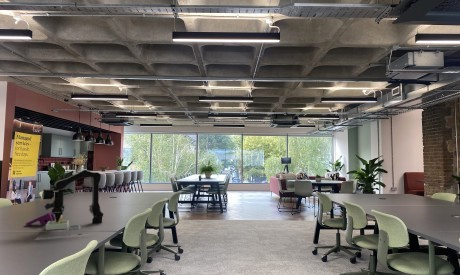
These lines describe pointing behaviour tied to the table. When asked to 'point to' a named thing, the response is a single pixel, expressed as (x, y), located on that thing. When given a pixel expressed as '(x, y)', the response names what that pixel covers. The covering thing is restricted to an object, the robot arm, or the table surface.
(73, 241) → the table surface
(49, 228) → the bin
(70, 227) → the socket block
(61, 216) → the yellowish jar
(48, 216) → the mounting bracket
